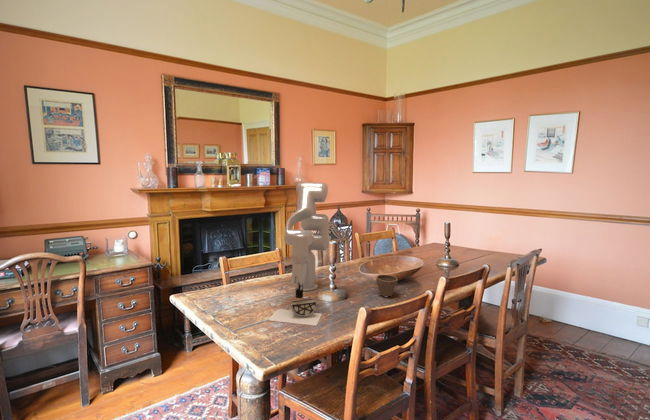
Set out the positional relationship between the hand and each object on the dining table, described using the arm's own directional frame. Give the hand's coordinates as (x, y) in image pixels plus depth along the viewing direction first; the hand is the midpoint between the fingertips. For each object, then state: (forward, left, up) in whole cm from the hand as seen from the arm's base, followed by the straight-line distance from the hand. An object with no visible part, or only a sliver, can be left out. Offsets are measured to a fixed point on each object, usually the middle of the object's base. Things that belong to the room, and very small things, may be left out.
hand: (299, 297), depth 170 cm
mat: (+6, 0, -8) cm, 9 cm away
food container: (-4, +1, -6) cm, 7 cm away
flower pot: (-34, +40, -8) cm, 53 cm away
